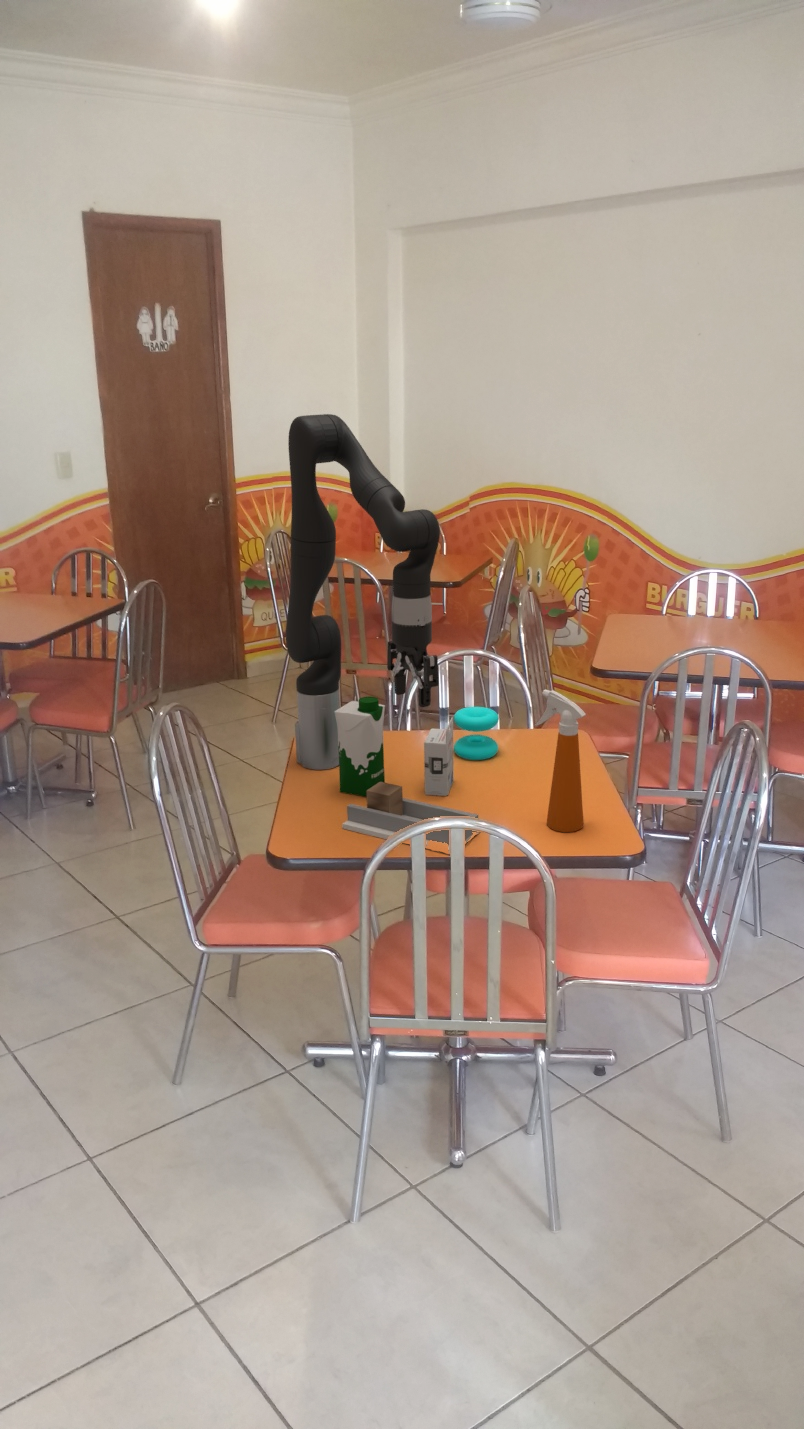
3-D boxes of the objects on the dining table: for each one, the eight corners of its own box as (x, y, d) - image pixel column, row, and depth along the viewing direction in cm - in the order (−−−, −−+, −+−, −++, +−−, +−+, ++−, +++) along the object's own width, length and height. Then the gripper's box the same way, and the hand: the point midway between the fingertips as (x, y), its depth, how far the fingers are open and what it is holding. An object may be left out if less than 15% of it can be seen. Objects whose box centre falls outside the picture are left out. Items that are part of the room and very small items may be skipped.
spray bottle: (542, 809, 206) (546, 682, 197) (590, 823, 200) (596, 693, 191) (523, 821, 201) (525, 692, 192) (571, 836, 194) (576, 703, 186)
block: (367, 819, 200) (366, 790, 198) (381, 809, 204) (380, 781, 202) (389, 824, 198) (388, 795, 196) (402, 814, 202) (402, 786, 200)
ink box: (431, 779, 221) (430, 714, 217) (454, 780, 221) (453, 715, 216) (424, 795, 214) (423, 728, 209) (447, 796, 213) (447, 729, 208)
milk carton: (371, 800, 212) (368, 707, 205) (333, 793, 216) (329, 701, 209) (391, 784, 219) (388, 694, 213) (353, 777, 223) (350, 689, 216)
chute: (342, 828, 199) (341, 809, 198) (375, 805, 209) (375, 787, 208) (452, 855, 188) (452, 835, 186) (482, 830, 197) (482, 811, 196)
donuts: (444, 713, 231) (471, 702, 238) (445, 755, 235) (471, 742, 242) (480, 722, 225) (507, 710, 232) (480, 765, 228) (506, 752, 235)
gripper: (375, 613, 198) (376, 693, 204) (415, 629, 187) (416, 714, 192) (408, 607, 202) (408, 686, 207) (450, 623, 190) (449, 706, 196)
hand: (412, 700), depth 200 cm, fingers open, 8 cm apart
